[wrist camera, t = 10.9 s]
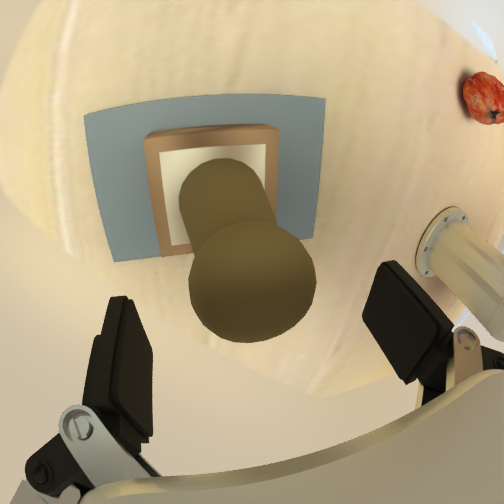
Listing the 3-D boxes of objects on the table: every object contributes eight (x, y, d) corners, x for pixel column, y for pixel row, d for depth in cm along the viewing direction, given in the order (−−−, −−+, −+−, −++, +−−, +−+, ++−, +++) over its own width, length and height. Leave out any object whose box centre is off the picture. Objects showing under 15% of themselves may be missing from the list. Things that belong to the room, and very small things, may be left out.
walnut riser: (263, 123, 20) (280, 129, 17) (261, 221, 25) (275, 244, 22) (150, 131, 18) (142, 140, 15) (163, 232, 23) (161, 258, 20)
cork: (205, 250, 21) (230, 377, 12) (161, 186, 17) (142, 300, 8) (276, 213, 20) (349, 319, 11) (241, 142, 17) (315, 208, 8)
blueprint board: (320, 98, 21) (325, 98, 20) (308, 233, 28) (312, 238, 28) (87, 114, 17) (83, 115, 16) (115, 256, 24) (114, 262, 24)
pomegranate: (453, 60, 21) (463, 87, 18) (496, 61, 16) (516, 91, 13) (462, 103, 26) (471, 138, 23) (502, 105, 21) (517, 143, 18)
